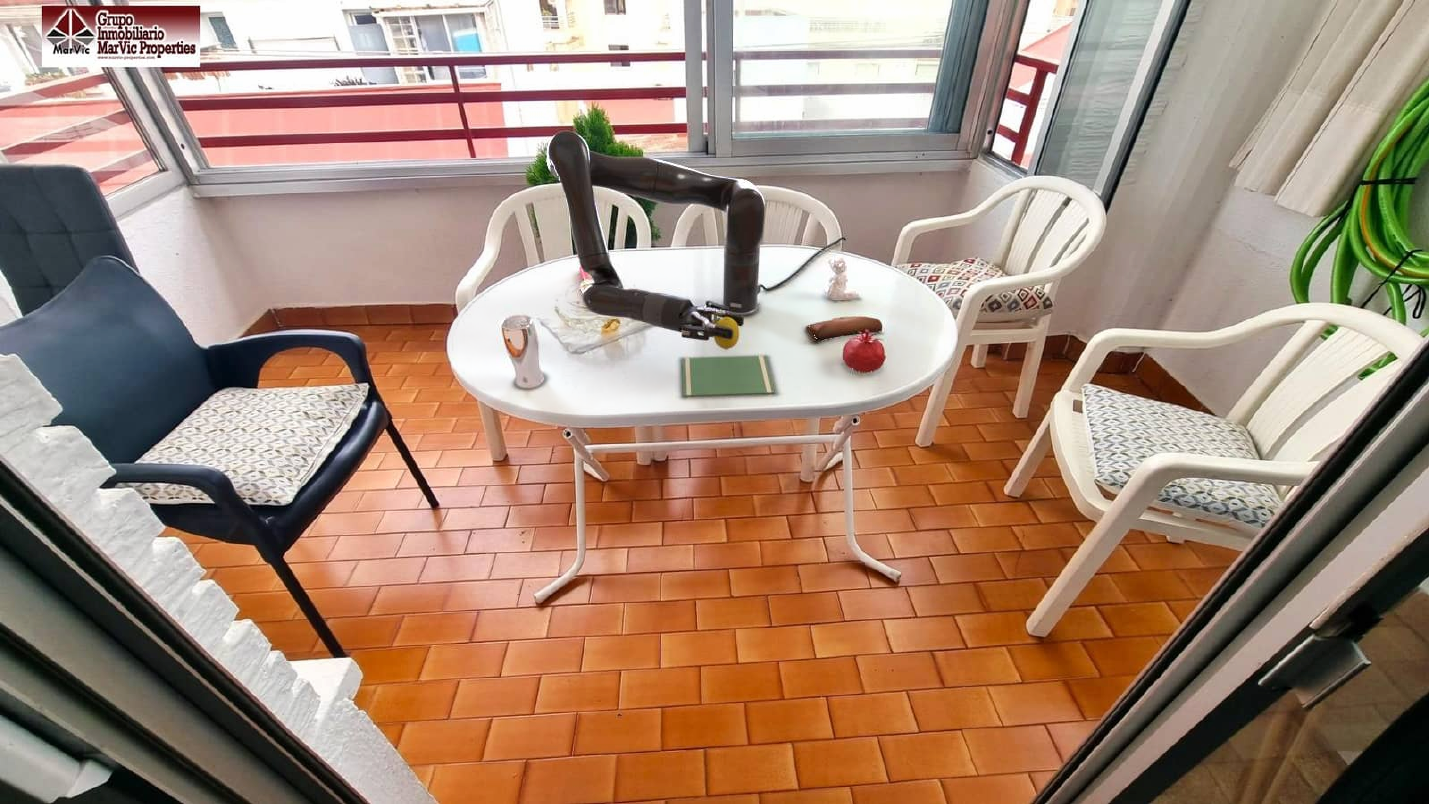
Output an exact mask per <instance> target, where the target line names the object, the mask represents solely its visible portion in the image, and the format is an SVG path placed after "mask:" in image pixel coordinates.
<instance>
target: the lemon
mask: <svg viewBox="0 0 1429 804" xmlns="http://www.w3.org/2000/svg"><path fill="white" fill-rule="evenodd" d="M721 318H722V317H721ZM717 325H718V326H722V327H726V328H731V329H733V338H732V339H726V338H722V337H717V336H715V337H713V340H714V342H715V343H716V345H717V346H718V347H719V348H721V349H724V350H729V349H732V348H734V347H735V346H736V345H737V343H738V341H739V338H740V328H739V326H738V325H737V323H736V321H735V320H733V319H732V318H729V317H724V318H722V319H720V320H719V321H718V322H717V323H716V324H715V326H717Z"/></svg>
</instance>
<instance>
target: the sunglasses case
mask: <svg viewBox="0 0 1429 804" xmlns="http://www.w3.org/2000/svg"><path fill="white" fill-rule="evenodd" d="M809 326H810V327H809ZM805 330H806V332H807V333H808V335H809V337H810V339H812V341H813V342H814V343H817V342H822V341H827V340H831V339H830V338H832V339H837V338H836V337H838V338H841V337H851V336H858V335H861V334H860V333H858V331H859V332H862V333H863V334H864V335H865V330H869V334H872V333H882V331H883V323H882V321H881V320H880V319H878V318H875V317H869V316H857V315H856V316H840V317H834V318H832V319H830V320H829V319H828V320H823V321H819V322H814V323H810V324H808V325H806V326H805ZM879 331H881V332H879ZM814 335H815V336H814ZM850 335H851V336H850ZM815 337H816V338H817V339H816V338H815ZM825 339H827V340H825Z"/></svg>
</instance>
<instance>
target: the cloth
mask: <svg viewBox="0 0 1429 804" xmlns="http://www.w3.org/2000/svg"><path fill="white" fill-rule="evenodd" d="M681 363H682V366H681V367H682V393H683V395H682V396H683V398H692V397H722V396H748V395H749V396H750V395H775V394H776V391H775V386H774V383H773V378H772V376H771V375H772V374H771V371H770V367H769V363H768V360H767V356H766V355H753V356H751V355H750V356H718V357H717V356H716V357H715V356H714V357H684V358H681Z"/></svg>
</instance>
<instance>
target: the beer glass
mask: <svg viewBox="0 0 1429 804" xmlns="http://www.w3.org/2000/svg"><path fill="white" fill-rule="evenodd" d="M500 328H501V335H502V340H503V344H504V348H505V350H506V353H507V355H508V358H509V359H510V361H511V363H512V366H513V368H514V372H515V373H514V374H515V383H516V386H518V387H519V388H522V389H532V388H535V387H538V386H540V385H541V384H542V383H543V382H544V380H545V376H544V374H543V372H542V370H541V366H540V356H539V355H540V350H539V349H540V347H539V338H538V333H537V329H536V326H535V324H534V320H533V318H532V316H530V315H527V314H514V315H510V316H507V317H505V318H504V319H503V320H501V322H500Z"/></svg>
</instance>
